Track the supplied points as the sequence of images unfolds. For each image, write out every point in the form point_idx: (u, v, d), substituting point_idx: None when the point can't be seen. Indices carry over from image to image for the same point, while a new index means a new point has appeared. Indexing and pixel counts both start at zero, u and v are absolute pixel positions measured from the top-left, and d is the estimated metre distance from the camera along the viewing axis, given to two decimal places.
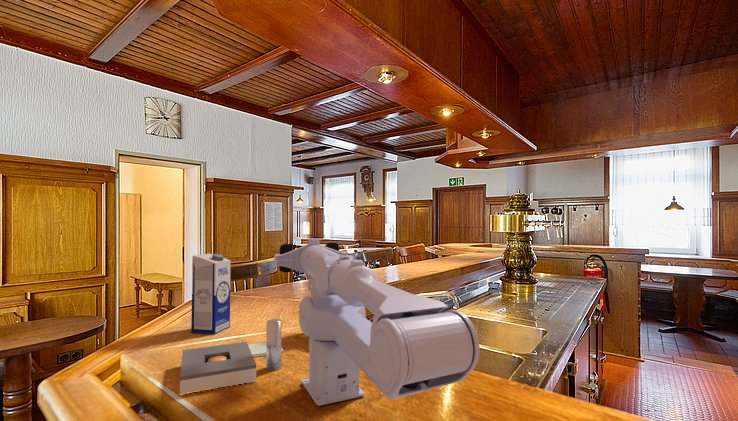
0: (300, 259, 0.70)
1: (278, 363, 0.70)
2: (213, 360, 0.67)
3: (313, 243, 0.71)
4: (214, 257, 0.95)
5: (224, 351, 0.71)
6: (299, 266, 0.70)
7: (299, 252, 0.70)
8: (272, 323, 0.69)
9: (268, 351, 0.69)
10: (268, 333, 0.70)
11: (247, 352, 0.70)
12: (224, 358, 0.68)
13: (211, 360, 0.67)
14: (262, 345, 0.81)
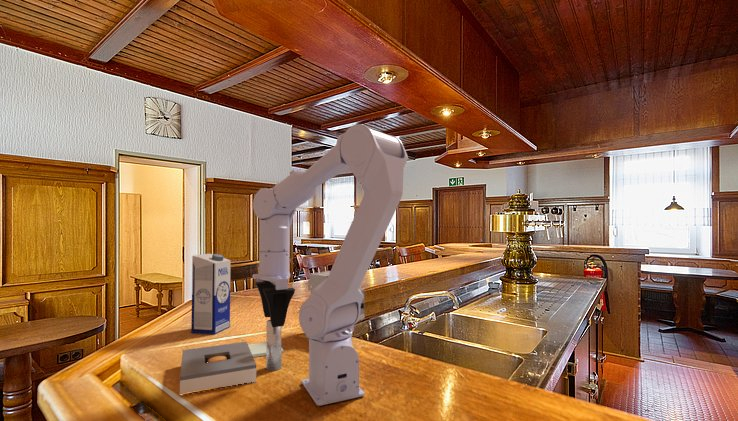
0: (276, 271, 0.69)
1: (278, 363, 0.70)
2: (213, 360, 0.67)
3: (258, 274, 0.70)
4: (214, 257, 0.95)
5: (224, 351, 0.71)
6: (284, 276, 0.69)
7: (269, 277, 0.68)
8: None
9: (268, 351, 0.69)
10: (268, 333, 0.70)
11: (247, 352, 0.70)
12: (224, 358, 0.68)
13: (211, 360, 0.67)
14: (262, 345, 0.81)
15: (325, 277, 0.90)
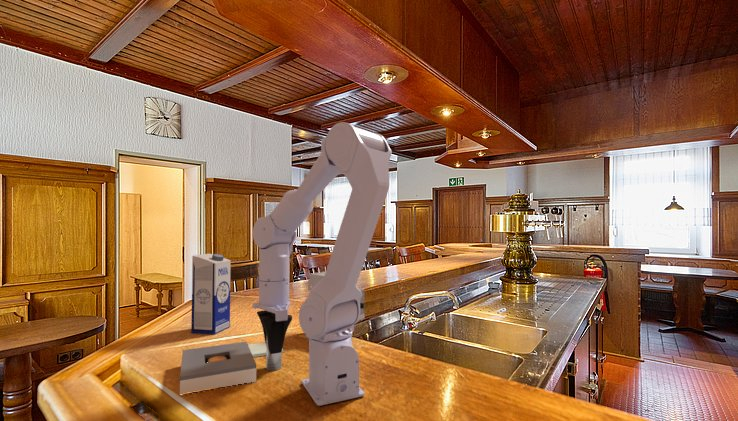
0: (276, 301, 0.68)
1: (278, 363, 0.70)
2: (213, 360, 0.67)
3: (257, 303, 0.69)
4: (214, 257, 0.95)
5: (224, 351, 0.71)
6: (284, 305, 0.69)
7: (269, 307, 0.68)
8: None
9: (268, 351, 0.69)
10: None
11: (247, 352, 0.70)
12: (224, 358, 0.68)
13: (211, 360, 0.67)
14: (262, 345, 0.81)
15: None
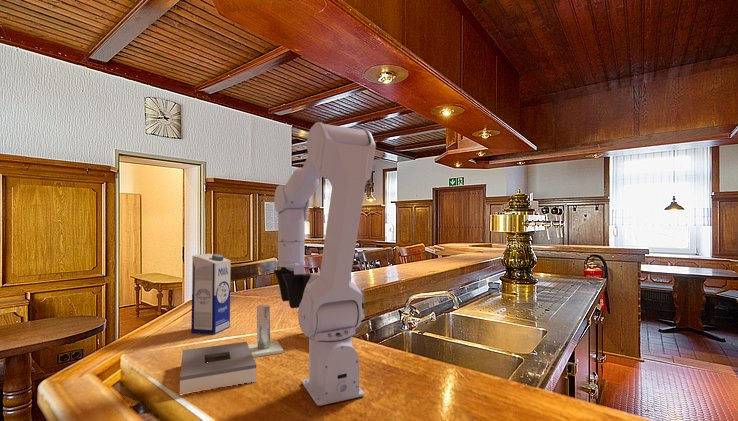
0: (293, 259, 0.77)
1: (268, 343, 0.80)
2: None
3: (277, 262, 0.78)
4: (214, 257, 0.95)
5: (224, 351, 0.71)
6: (300, 263, 0.78)
7: (288, 264, 0.76)
8: (262, 308, 0.79)
9: (259, 332, 0.79)
10: (258, 317, 0.79)
11: (247, 352, 0.70)
12: None
13: None
14: None
15: None
